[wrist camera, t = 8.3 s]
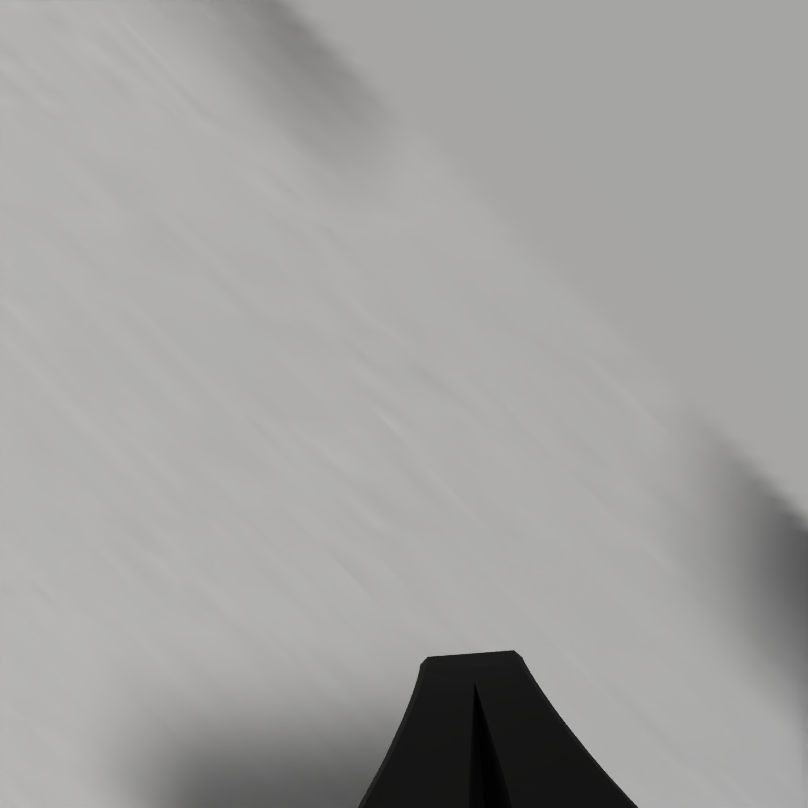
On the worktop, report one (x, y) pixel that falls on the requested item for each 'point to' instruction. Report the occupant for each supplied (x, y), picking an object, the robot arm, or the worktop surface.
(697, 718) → the worktop surface
